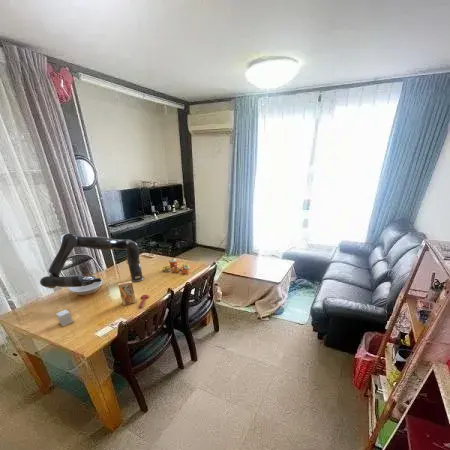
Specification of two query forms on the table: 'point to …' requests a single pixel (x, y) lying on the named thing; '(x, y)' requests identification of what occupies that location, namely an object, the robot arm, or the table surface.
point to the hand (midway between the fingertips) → (100, 279)
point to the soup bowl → (86, 288)
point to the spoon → (143, 300)
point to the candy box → (127, 292)
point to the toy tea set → (176, 269)
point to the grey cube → (64, 317)
